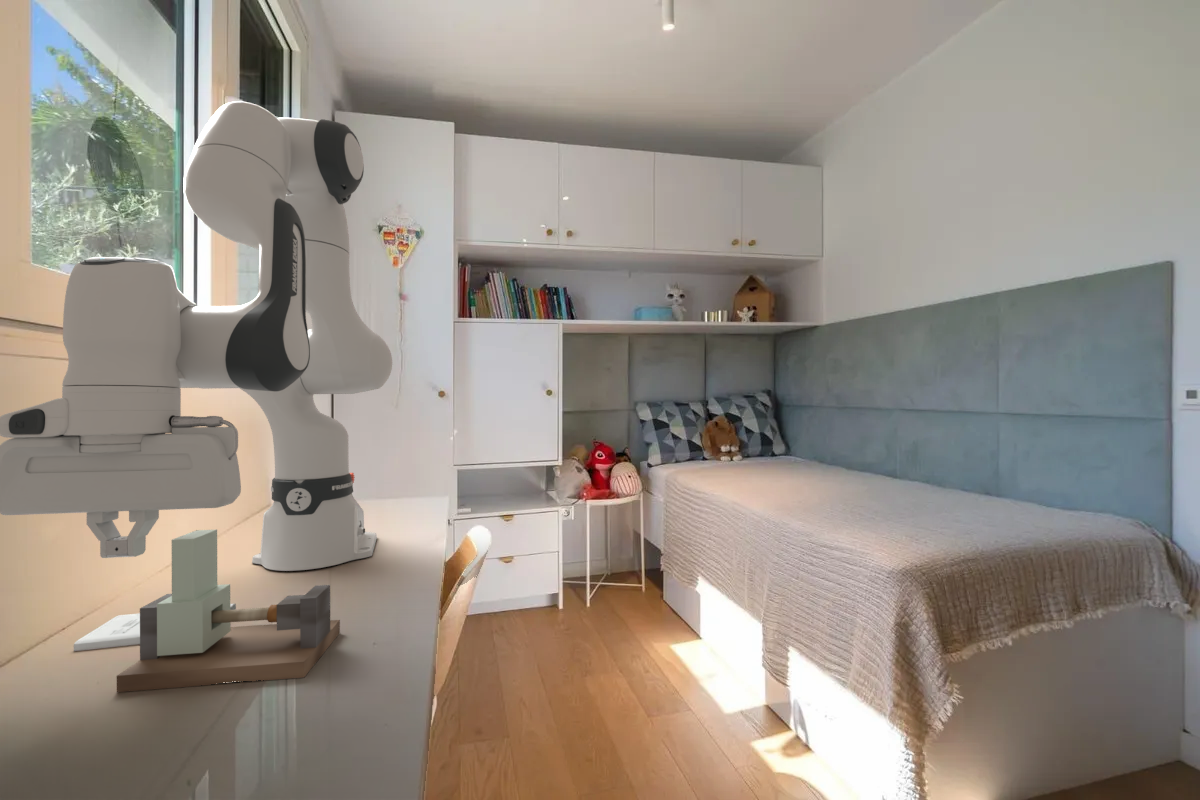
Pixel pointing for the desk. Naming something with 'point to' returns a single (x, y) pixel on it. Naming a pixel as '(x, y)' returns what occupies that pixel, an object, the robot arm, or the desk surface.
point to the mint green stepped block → (192, 597)
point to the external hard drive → (115, 633)
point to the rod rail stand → (240, 646)
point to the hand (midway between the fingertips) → (123, 556)
